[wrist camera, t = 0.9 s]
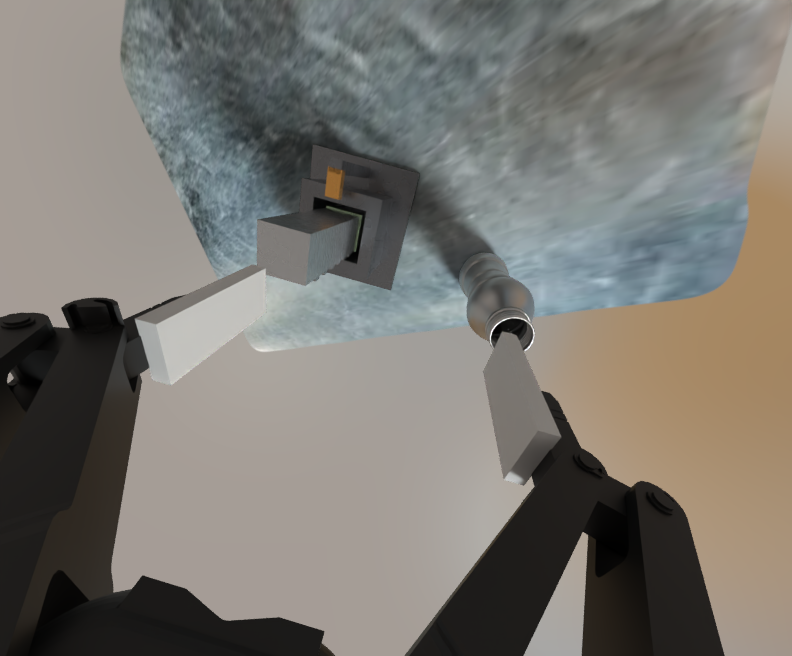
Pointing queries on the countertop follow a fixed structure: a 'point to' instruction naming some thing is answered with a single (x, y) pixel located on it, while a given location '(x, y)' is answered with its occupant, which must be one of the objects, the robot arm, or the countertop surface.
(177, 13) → the countertop surface
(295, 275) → the column
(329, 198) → the stand
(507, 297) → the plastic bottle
